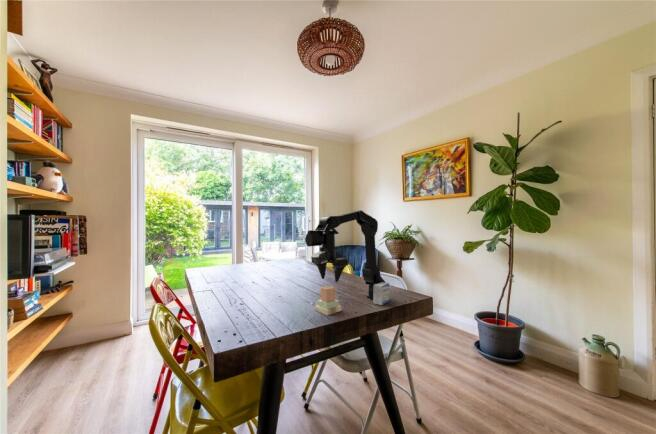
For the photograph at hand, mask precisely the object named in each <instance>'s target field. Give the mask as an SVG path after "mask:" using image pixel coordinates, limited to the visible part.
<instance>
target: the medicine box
mask: <svg viewBox="0 0 656 434" xmlns="http://www.w3.org/2000/svg"><path fill="white" fill-rule="evenodd" d="M372 300H373V304H375V305H379V306H383V305H385V304H386V303H389V301H390V283H389V282H386V281H385V282H380V283H378V284H376V285H374V286H373V299H372Z"/></svg>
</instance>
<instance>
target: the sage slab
mask: <svg viewBox="0 0 656 434" xmlns="http://www.w3.org/2000/svg"><path fill="white" fill-rule="evenodd" d="M339 305H340V301H339V299H336V298H335V301H332V302H328V303H326V302H324V301H322V300H321V298H319V299H318V300H317V306H319V307H322V308H325V309H331V308H334V307H337V306H339Z"/></svg>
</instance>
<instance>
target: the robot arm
mask: <svg viewBox="0 0 656 434" xmlns="http://www.w3.org/2000/svg"><path fill="white" fill-rule="evenodd" d="M353 221H355V222H356V223H357V224H358V225H359V226H360V230H361V233H362V235H363V236H364V245H365V246H364V248H365V263H366V264H365V266H364V268H362V270H361V272H362V275H361V276H362V278H363V281H364V282H365V285H368V295H366V298H368V299H372V300H374V299H373V286H374V285H376V284H378V283H380V282H386V281H385V280H384V278H383V277H382V276H381V270H380V268H379V267H378V265H377V255H376V234H377V232H378V230H379V227H378V226H379V223H378V220H377V219H376V218H374V217H373V216H371V215H370V214H368V213H365V211H363V210H354V211H351V212H348V213H343V214H340V215H329V216H328V215H327V216H321V217H320V219H319V221H318V224H317V226H316V228H315V229H313V230H312V229H311V230H307V233H306V235H305V238H304V242H305V245H306V246H307V247H320V246H321V247H320V248H319V251H317V252H314V254H312V255H311V256H310V258H311V263H312V264H313V265H314V266H315V267H317V269H318V272H319V274H320V277H321V279H322V280H324V279H325V277H326V270H327V263H328V264H331V265H332V266H331V268H332V269H333V272H334V282H335V283H339V280H340V278H341V276H342V273H343V272H344V269H345V268H346V267H347V266H348V265H349V259H348V258H344V257H340V258H339V257H338V256H337V255H336V250H338V247H337V246H336V239H335V238H336V236H335V235H338V234H339V232H338V230H337V229H336V228H338V227H340V225H342V224H345V223H348V222H353Z"/></svg>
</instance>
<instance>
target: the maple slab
mask: <svg viewBox="0 0 656 434" xmlns="http://www.w3.org/2000/svg"><path fill="white" fill-rule="evenodd" d="M342 309H343V308H342V305H340V304H339V306H337V307H334V308H331V309H325V308H322V307H319V306H318V305H315V311H316V312H318V313H320V314H323V315H325V316H329V315H332V314H336V313H338V312H341V311H342Z"/></svg>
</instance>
